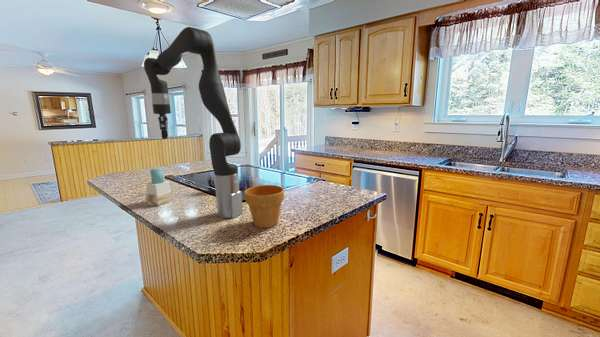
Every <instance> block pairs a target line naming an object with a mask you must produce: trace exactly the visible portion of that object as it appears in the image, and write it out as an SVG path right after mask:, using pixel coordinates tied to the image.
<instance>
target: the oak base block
mask: <svg viewBox="0 0 600 337" xmlns="http://www.w3.org/2000/svg"><path fill="white" fill-rule="evenodd" d="M145 198H146V199H145V200H146V201H145V202H146V205H149V206H154V207H157V208H158V207H162V206H164V205H166V204H169V203H172V202H174V194H173V191H171V192H168V193H165V194H162V195H158V196H156V195H151V194H147V193H145ZM161 205H162V206H161Z"/></svg>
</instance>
